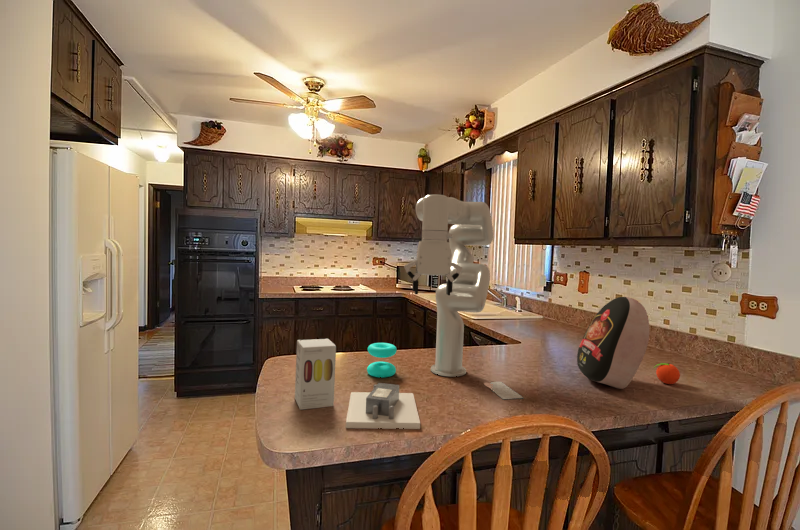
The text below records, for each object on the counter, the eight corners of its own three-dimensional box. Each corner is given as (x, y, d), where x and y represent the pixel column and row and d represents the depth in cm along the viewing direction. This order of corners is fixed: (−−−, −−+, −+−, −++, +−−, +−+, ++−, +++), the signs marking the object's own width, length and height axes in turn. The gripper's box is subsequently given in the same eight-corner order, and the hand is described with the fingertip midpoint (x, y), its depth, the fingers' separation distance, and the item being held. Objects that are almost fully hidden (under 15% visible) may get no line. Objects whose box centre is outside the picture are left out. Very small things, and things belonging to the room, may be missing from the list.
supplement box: (299, 410, 108) (301, 347, 107) (293, 398, 117) (295, 339, 116) (335, 406, 112) (336, 345, 111) (327, 394, 120) (328, 337, 120)
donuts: (371, 349, 135) (364, 342, 144) (370, 379, 135) (363, 370, 144) (400, 348, 138) (392, 341, 147) (399, 377, 138) (391, 368, 148)
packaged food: (568, 371, 152) (573, 291, 151) (622, 374, 151) (628, 293, 150) (592, 392, 130) (598, 299, 129) (656, 396, 129) (663, 301, 128)
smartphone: (503, 399, 121) (481, 382, 136) (503, 401, 121) (481, 384, 136) (524, 398, 123) (500, 381, 138) (524, 399, 123) (500, 382, 138)
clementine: (654, 384, 141) (656, 364, 141) (650, 378, 148) (651, 359, 147) (681, 388, 138) (683, 367, 138) (676, 382, 145) (677, 362, 144)
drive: (378, 396, 116) (378, 382, 116) (398, 399, 115) (399, 384, 115) (365, 413, 104) (366, 397, 104) (388, 416, 103) (389, 400, 103)
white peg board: (350, 397, 119) (351, 381, 119) (412, 398, 120) (413, 383, 120) (345, 428, 99) (346, 409, 99) (419, 429, 100) (420, 410, 100)
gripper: (460, 238, 126) (458, 293, 127) (404, 236, 125) (402, 291, 126) (466, 237, 118) (463, 296, 119) (406, 235, 117) (404, 295, 118)
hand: (432, 294), depth 123 cm, fingers open, 9 cm apart
